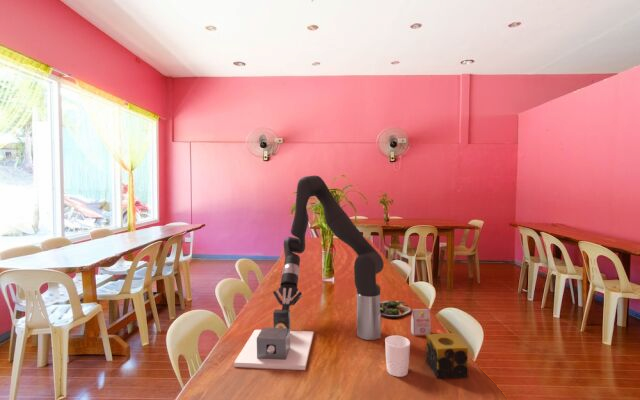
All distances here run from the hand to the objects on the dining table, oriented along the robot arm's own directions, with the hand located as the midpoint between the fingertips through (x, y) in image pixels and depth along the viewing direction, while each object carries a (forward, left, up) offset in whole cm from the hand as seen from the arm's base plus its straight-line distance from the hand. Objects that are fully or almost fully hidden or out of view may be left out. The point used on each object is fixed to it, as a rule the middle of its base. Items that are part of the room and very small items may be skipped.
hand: (285, 314), depth 135 cm
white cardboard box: (-55, -2, -7) cm, 56 cm away
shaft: (0, +15, -5) cm, 16 cm away
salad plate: (-45, -24, -8) cm, 52 cm away
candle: (-58, +23, -7) cm, 63 cm away
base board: (0, +15, -7) cm, 17 cm away
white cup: (-42, +25, -7) cm, 50 cm away
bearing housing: (0, +20, -6) cm, 21 cm away
